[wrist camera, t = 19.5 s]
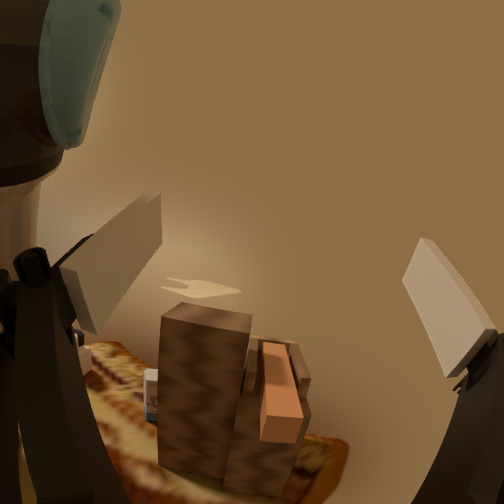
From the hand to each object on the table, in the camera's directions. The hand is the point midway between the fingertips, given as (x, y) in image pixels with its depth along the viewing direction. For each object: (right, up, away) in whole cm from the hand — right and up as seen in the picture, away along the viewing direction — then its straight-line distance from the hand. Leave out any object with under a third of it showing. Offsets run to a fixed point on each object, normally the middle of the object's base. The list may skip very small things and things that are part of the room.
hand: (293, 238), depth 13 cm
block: (+1, -22, +24) cm, 32 cm away
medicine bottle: (-51, -34, +45) cm, 76 cm away
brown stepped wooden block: (-8, -40, +29) cm, 51 cm away
